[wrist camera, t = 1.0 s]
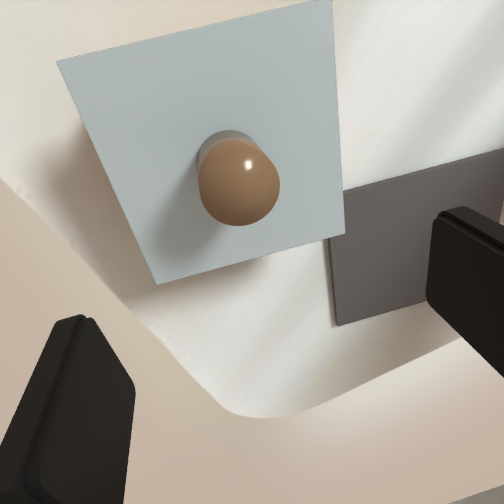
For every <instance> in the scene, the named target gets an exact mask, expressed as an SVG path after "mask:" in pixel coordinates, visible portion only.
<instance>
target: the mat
mask: <svg viewBox="0 0 504 504" xmlns="http://www.w3.org/2000/svg"><path fill="white" fill-rule="evenodd" d="M503 200H504V148H502V149H498V150H495V151H491V152H487V153H483V154H480V155H476V156H472V157H469V158H465V159H461V160H457V161H454V162H450V163H446V164H442V165H439V166H435V167H431V168H427V169H424V170H420V171H416V172H412V173H409V174H405V175H401V176H398V177H394V178H390V179H386V180H383V181H379V182H375V183H371V184H368V185H364V186H360V187H356V188H353V189H349V190H345V191H343V202H344V219H345V234H341V235H337V236H334V237H330V238H328V242H329V253H330V264H331V275H332V286H333V297H334V308H335V319H336V324H337V326H341V325H344V324H348V323H351V322H355V321H358V320H362V319H365V318H369V317H372V316H376V315H379V314H383V313H386V312H389V311H393V310H396V309H400V308H403V307H407V306H410V305H414V304H417V303H421V302H424V301H427V299H426V283H427V273H428V263H429V253H430V243H431V233H432V224H433V221H434V219H436V218H437V216H438V214H439V213H440V212H441V211H444V210H448V209H451V208H455V207H458V206H466V207H468V208H470V209H472V210H474V211H476V212H478V213H480V214H482V215H484V216H486V217H488V218H490V219H491V220H493V221H495V222H497V223H498V222H499V218H500V213H501V209H502V204H503Z"/></svg>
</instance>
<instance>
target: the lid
mask: <svg viewBox="0 0 504 504" xmlns="http://www.w3.org/2000/svg"><path fill="white" fill-rule="evenodd" d="M56 63H57V66H58V68H59V70H60V72H61V74H62V77H63V79H64V81H65V83H66V86H67V88H68V90H69V92H70V94H71V97H72V99H73V101H74V103H75V105H76V108H77V110H78V112H79V114H80V117H81V119H82V121H83V123H84V125H85V128H86V130H87V132H88V134H89V136H90V139H91V141H92V143H93V145H94V147H95V150H96V152H97V154H98V156H99V159H100V161H101V163H102V165H103V167H104V170H105V172H106V174H107V176H108V178H109V181H110V183H111V185H112V187H113V190H114V192H115V194H116V196H117V198H118V201H119V203H120V205H121V207H122V209H123V212H124V214H125V216H126V218H127V221H128V223H129V225H130V227H131V229H132V232H133V234H134V236H135V238H136V240H137V243H138V245H139V247H140V249H141V252H142V254H143V256H144V258H145V260H146V263H147V265H148V267H149V269H150V271H151V274H152V276H153V278H154V280H155V283H156V285H159V284H162V283H166V282H170V281H173V280H177V279H181V278H184V277H188V276H192V275H195V274H199V273H203V272H206V271H210V270H213V269H217V268H221V267H224V266H228V265H232V264H235V263H239V262H243V261H246V260H250V259H254V258H257V257H261V256H265V255H268V254H272V253H275V252H279V251H283V250H286V249H290V248H294V247H297V246H301V245H305V244H308V243H312V242H316V241H319V240H323V239H326V238H330V237H334V236H337V235H341V234H345V219H344V202H343V185H342V167H341V150H340V133H339V116H338V99H337V81H336V64H335V47H334V30H333V12H332V0H312V1H308V2H304V3H300V4H295V5H291V6H287V7H283V8H278V9H274V10H270V11H266V12H262V13H257V14H253V15H249V16H245V17H240V18H236V19H232V20H228V21H223V22H219V23H215V24H211V25H207V26H202V27H198V28H194V29H190V30H185V31H181V32H177V33H173V34H168V35H164V36H160V37H156V38H151V39H147V40H143V41H139V42H135V43H130V44H126V45H122V46H118V47H113V48H109V49H105V50H101V51H96V52H92V53H88V54H84V55H80V56H75V57H71V58H67V59H63V60H58V61H56Z"/></svg>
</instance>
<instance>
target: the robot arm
mask: <svg viewBox="0 0 504 504" xmlns="http://www.w3.org/2000/svg"><path fill="white" fill-rule="evenodd" d="M426 299H427V302H428V303H429V305H430V306H431V307H432V308H433V309H434V310H435V311H436V312H437V313H438V314H439V315H440V316H441V317H442V318H443V319H444V320H445V321H446V322H447V323H448V324H449V325H450V326H451V327H452V328H453V329H454V330H455V331H456V332H458V333H459V334H460V335H461V336H462V337H463V338H464V339H465V340H466V341H467V342H468V343H469V344H470V345H471V346H472V347H473V348H474V349H475V350H476V351H477V352H478V353H479V354H480V355H481V356H482V357H483V358H484V359H485V360H486V361H487V362H488V363H489V364H490V365H491V366H492V367H494V369H495V370H497V372H498V373H499V374H500V375H502V376H503V377H504V226H503V225H501V224H499V223H497V222H495V221H493V220H491V219H490V218H488V217H486V216H484V215H482V214H480V213H478V212H476V211H474V210H472V209H470V208H468V207H466V206H458V207H455V208H451V209H448V210H444V211H441V212H440V213H439V214H438V216H437V218H436V219H434V221H433V224H432V233H431V243H430V253H429V263H428V273H427V283H426ZM135 394H136V393H135V387H134V384H133V381H132V380H131V378H130V376H129V375H128V373H127V372H126V370H125V368H124V367H123V365H122V364H121V362H120V360H119V359H118V357H117V356H116V354H115V352H114V351H113V349H112V348H111V346H110V345H109V343H108V341H107V340H106V338H105V336H104V335H103V333H102V332H101V330H100V328H99V327H98V325H97V324H96V322H95V320H94V319H92V318H86V317H85V316H84V315H81V314H79V315H76V316H72V317H69V318H65V319H62V320H59V321H57V322H56V323H55V324H54V327H53V329H52V331H51V333H50V336H49V338H48V340H47V342H46V344H45V347H44V349H43V351H42V354H41V356H40V358H39V361H38V362H37V365H36V367H35V369H34V371H33V374H32V376H31V378H30V380H29V383H28V385H27V387H26V389H25V391H24V394H23V396H22V398H21V400H20V403H19V405H18V407H17V410H16V412H15V414H14V416H13V418H12V421H11V423H10V425H9V427H8V429H7V432H6V434H5V437H4V439H3V441H2V443H1V445H0V504H123V501H124V492H125V483H126V475H127V466H128V456H129V448H130V440H131V431H132V422H133V413H134V404H135ZM450 504H504V485H502V486H499V487H496V488H493V489H490V490H487V491H484V492H481V493H478V494H476V495H473V496H470V497H467V498H464V499H461V500H458V501H455V502H452V503H450Z"/></svg>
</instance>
